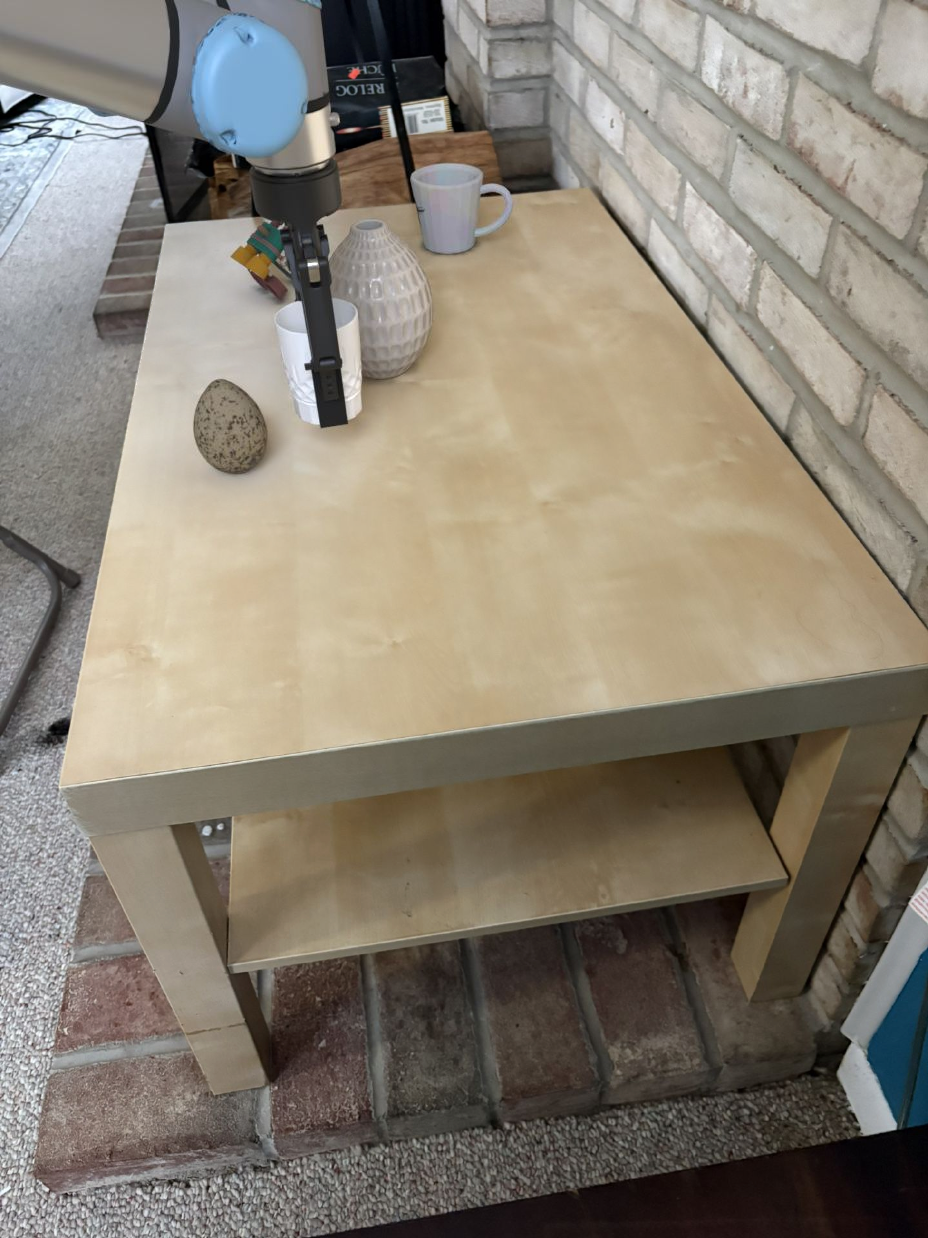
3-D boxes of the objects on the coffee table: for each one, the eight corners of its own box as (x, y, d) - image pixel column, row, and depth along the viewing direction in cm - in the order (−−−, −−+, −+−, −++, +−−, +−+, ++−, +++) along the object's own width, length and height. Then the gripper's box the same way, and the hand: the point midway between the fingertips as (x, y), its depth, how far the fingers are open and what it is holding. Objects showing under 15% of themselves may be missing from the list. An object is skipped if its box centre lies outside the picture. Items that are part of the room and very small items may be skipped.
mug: (423, 230, 142) (419, 160, 136) (518, 234, 140) (519, 164, 133) (407, 256, 135) (402, 184, 128) (507, 261, 132) (507, 188, 126)
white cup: (319, 438, 89) (304, 342, 82) (275, 408, 94) (257, 314, 87) (384, 409, 93) (374, 314, 86) (338, 381, 97) (326, 289, 90)
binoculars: (265, 295, 131) (217, 246, 123) (306, 247, 131) (262, 194, 123) (297, 317, 126) (249, 267, 118) (340, 266, 126) (296, 212, 118)
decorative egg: (189, 472, 95) (165, 384, 88) (243, 442, 99) (223, 356, 92) (235, 496, 91) (213, 407, 85) (288, 464, 95) (271, 376, 89)
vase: (331, 398, 105) (310, 252, 94) (327, 347, 114) (307, 208, 103) (443, 387, 106) (435, 241, 95) (429, 337, 115) (421, 199, 104)
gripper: (355, 195, 71) (382, 450, 86) (321, 123, 85) (349, 352, 101) (257, 207, 69) (302, 463, 85) (239, 132, 84) (281, 362, 100)
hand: (328, 403), depth 93 cm, fingers closed on white cup, 8 cm apart
